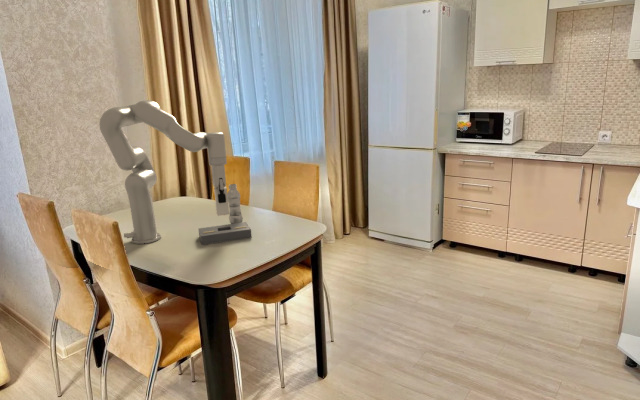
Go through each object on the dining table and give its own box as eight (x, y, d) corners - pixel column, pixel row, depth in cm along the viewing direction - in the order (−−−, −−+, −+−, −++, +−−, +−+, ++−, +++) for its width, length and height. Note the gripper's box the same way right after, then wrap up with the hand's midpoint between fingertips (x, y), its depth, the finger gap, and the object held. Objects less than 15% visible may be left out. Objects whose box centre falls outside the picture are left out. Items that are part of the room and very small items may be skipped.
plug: (217, 215, 196) (214, 180, 192) (216, 213, 200) (213, 178, 196) (229, 214, 198) (225, 179, 194) (227, 212, 202) (224, 177, 198)
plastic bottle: (240, 226, 217) (236, 186, 212) (227, 225, 218) (223, 186, 213) (245, 222, 223) (241, 183, 218) (232, 221, 225) (228, 183, 220)
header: (201, 245, 193) (200, 235, 192) (199, 236, 204) (198, 227, 203) (251, 237, 200) (250, 228, 199) (246, 229, 211) (245, 221, 210)
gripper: (207, 159, 199) (211, 198, 204) (211, 164, 184) (215, 207, 189) (223, 157, 202) (227, 196, 206) (229, 163, 186) (232, 204, 191)
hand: (221, 201), depth 198 cm, fingers closed on plug, 4 cm apart
